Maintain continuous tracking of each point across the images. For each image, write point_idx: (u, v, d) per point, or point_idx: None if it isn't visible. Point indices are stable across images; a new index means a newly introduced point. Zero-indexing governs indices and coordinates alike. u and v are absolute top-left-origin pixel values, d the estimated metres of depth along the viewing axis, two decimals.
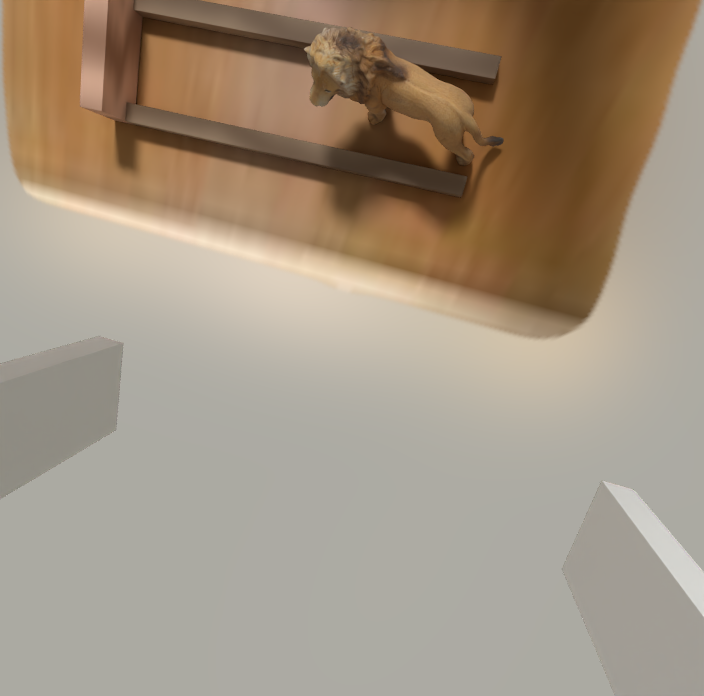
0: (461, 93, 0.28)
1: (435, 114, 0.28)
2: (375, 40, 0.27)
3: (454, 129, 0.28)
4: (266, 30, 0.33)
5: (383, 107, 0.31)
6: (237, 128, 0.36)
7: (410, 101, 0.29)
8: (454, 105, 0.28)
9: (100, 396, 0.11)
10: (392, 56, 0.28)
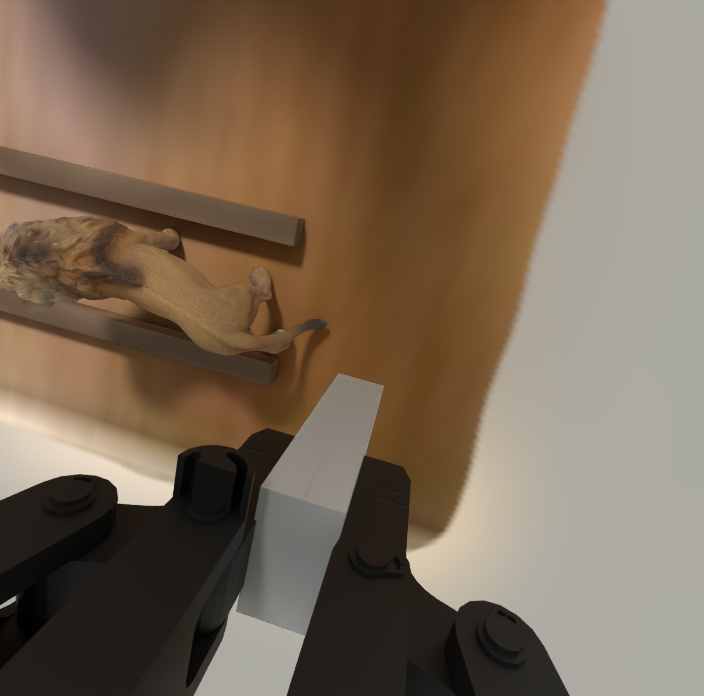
0: (218, 307, 0.19)
1: (187, 333, 0.20)
2: (86, 237, 0.19)
3: (218, 351, 0.20)
4: (0, 168, 0.25)
5: None
6: None
7: (156, 310, 0.20)
8: (206, 326, 0.19)
9: None
10: (121, 253, 0.20)
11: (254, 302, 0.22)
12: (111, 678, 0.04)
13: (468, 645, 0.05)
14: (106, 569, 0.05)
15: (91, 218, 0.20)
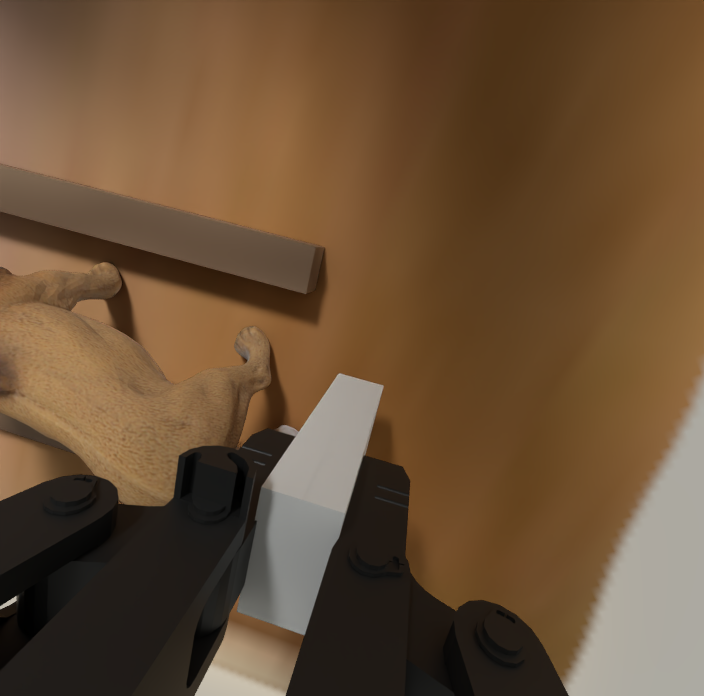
0: (162, 440, 0.10)
1: None
2: None
3: None
4: None
5: None
6: None
7: (48, 435, 0.10)
8: (138, 480, 0.09)
9: None
10: None
11: (239, 404, 0.12)
12: (112, 678, 0.04)
13: (467, 645, 0.05)
14: (107, 569, 0.05)
15: None
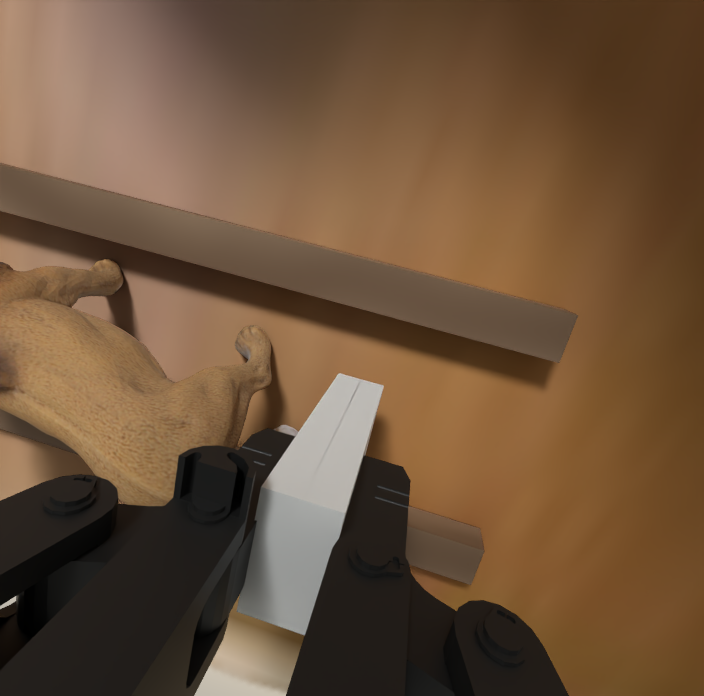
0: (162, 439, 0.09)
1: None
2: None
3: None
4: (22, 207, 0.14)
5: None
6: None
7: (47, 432, 0.10)
8: (137, 479, 0.09)
9: None
10: None
11: (239, 404, 0.12)
12: (112, 677, 0.04)
13: (468, 645, 0.05)
14: (107, 569, 0.05)
15: None
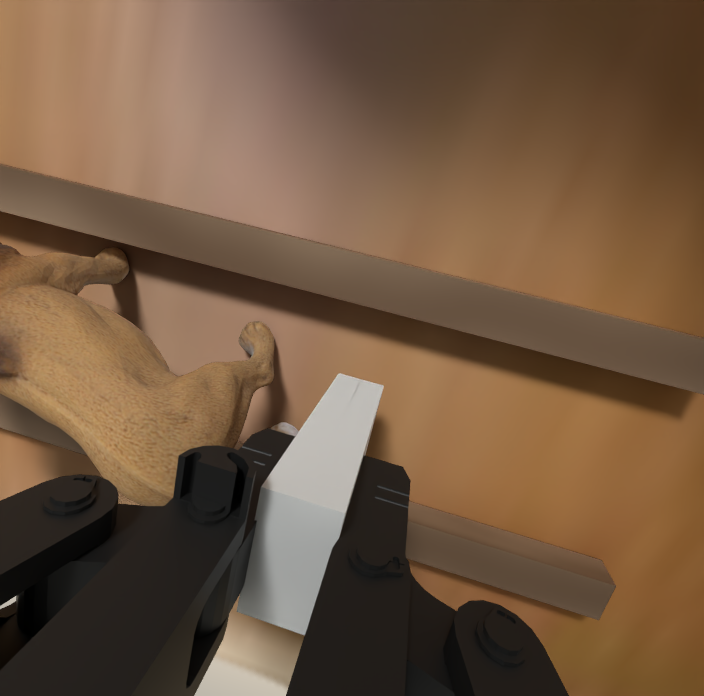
0: (164, 433, 0.09)
1: None
2: None
3: None
4: (138, 237, 0.14)
5: None
6: None
7: (48, 420, 0.10)
8: (138, 472, 0.09)
9: None
10: None
11: (241, 400, 0.12)
12: (111, 679, 0.04)
13: (467, 645, 0.05)
14: (107, 569, 0.05)
15: None
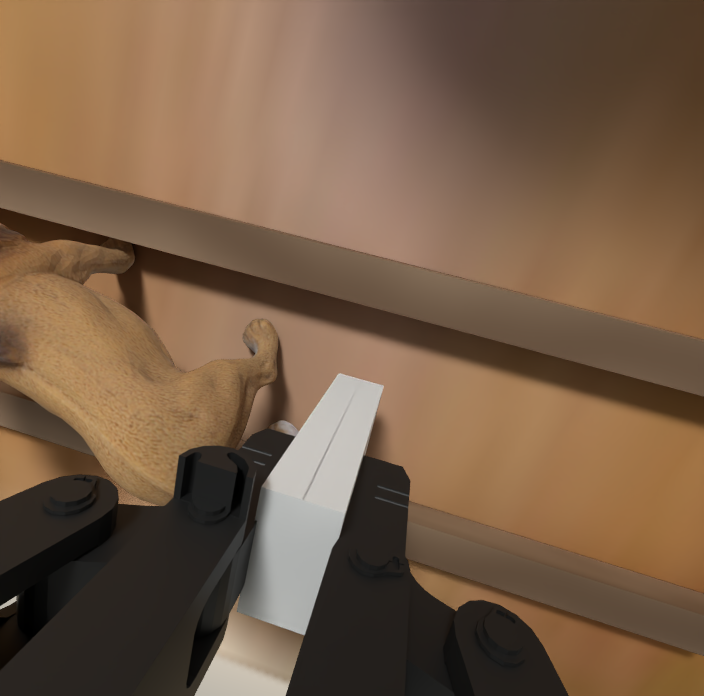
0: (170, 431, 0.09)
1: (104, 469, 0.10)
2: None
3: (162, 505, 0.10)
4: (252, 265, 0.14)
5: None
6: None
7: (51, 411, 0.10)
8: (141, 469, 0.09)
9: None
10: None
11: (245, 399, 0.12)
12: (111, 678, 0.04)
13: (467, 645, 0.05)
14: (108, 569, 0.05)
15: None
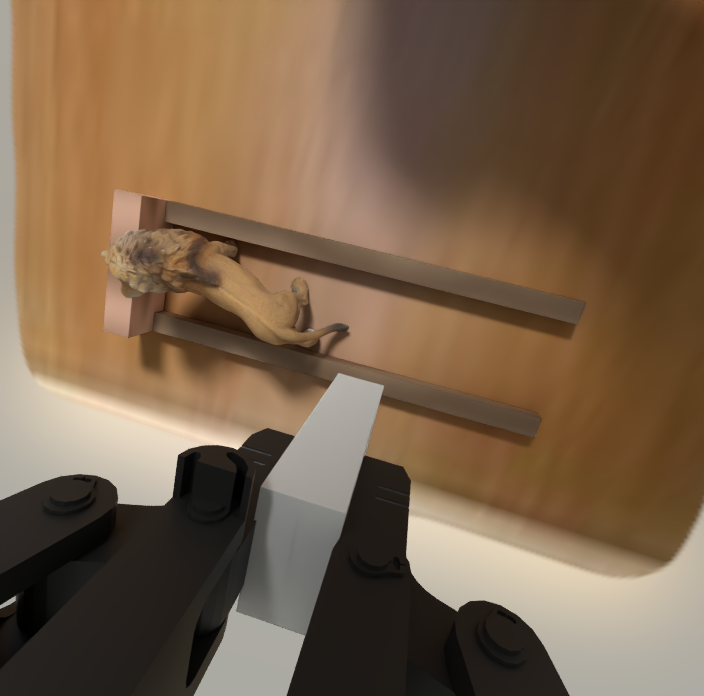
0: (275, 308, 0.26)
1: (249, 325, 0.26)
2: (183, 246, 0.25)
3: (270, 341, 0.27)
4: (315, 254, 0.30)
5: None
6: (279, 349, 0.32)
7: (226, 306, 0.27)
8: (266, 322, 0.26)
9: None
10: (206, 260, 0.26)
11: (298, 306, 0.28)
12: (111, 676, 0.04)
13: (468, 645, 0.05)
14: (106, 569, 0.05)
15: (183, 231, 0.27)
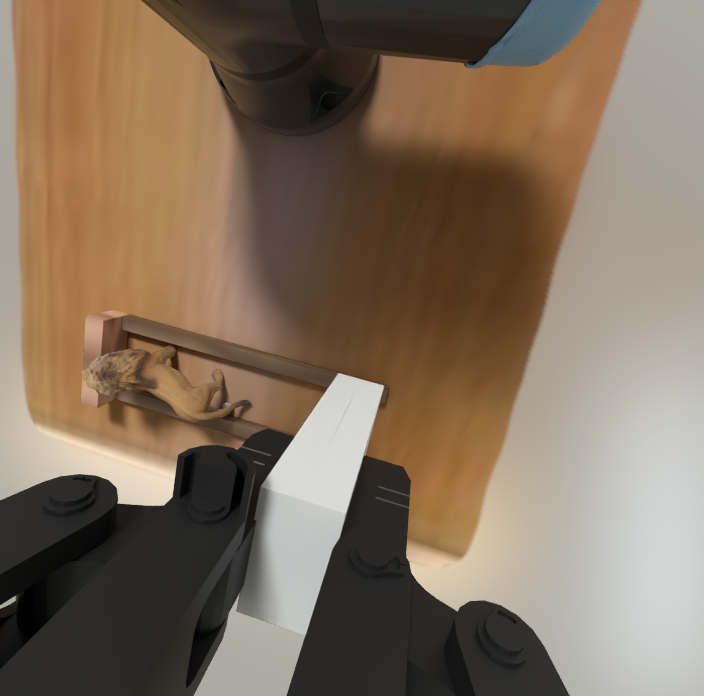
0: (191, 402, 0.41)
1: (175, 411, 0.42)
2: (132, 365, 0.41)
3: (189, 420, 0.42)
4: (219, 354, 0.45)
5: None
6: None
7: (162, 398, 0.42)
8: (185, 410, 0.41)
9: None
10: (147, 372, 0.41)
11: (210, 394, 0.44)
12: (112, 677, 0.04)
13: (468, 645, 0.05)
14: (106, 569, 0.05)
15: (133, 352, 0.42)
